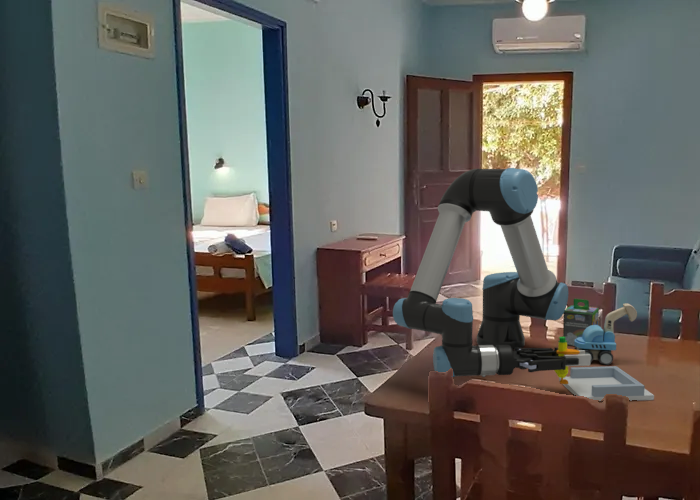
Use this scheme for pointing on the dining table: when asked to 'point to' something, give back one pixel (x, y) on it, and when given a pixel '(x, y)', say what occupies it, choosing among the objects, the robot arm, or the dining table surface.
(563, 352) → the toy figure
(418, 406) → the dining table surface
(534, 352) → the robot arm
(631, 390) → the open-sided tray
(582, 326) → the chalk box
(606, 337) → the toy excavator
